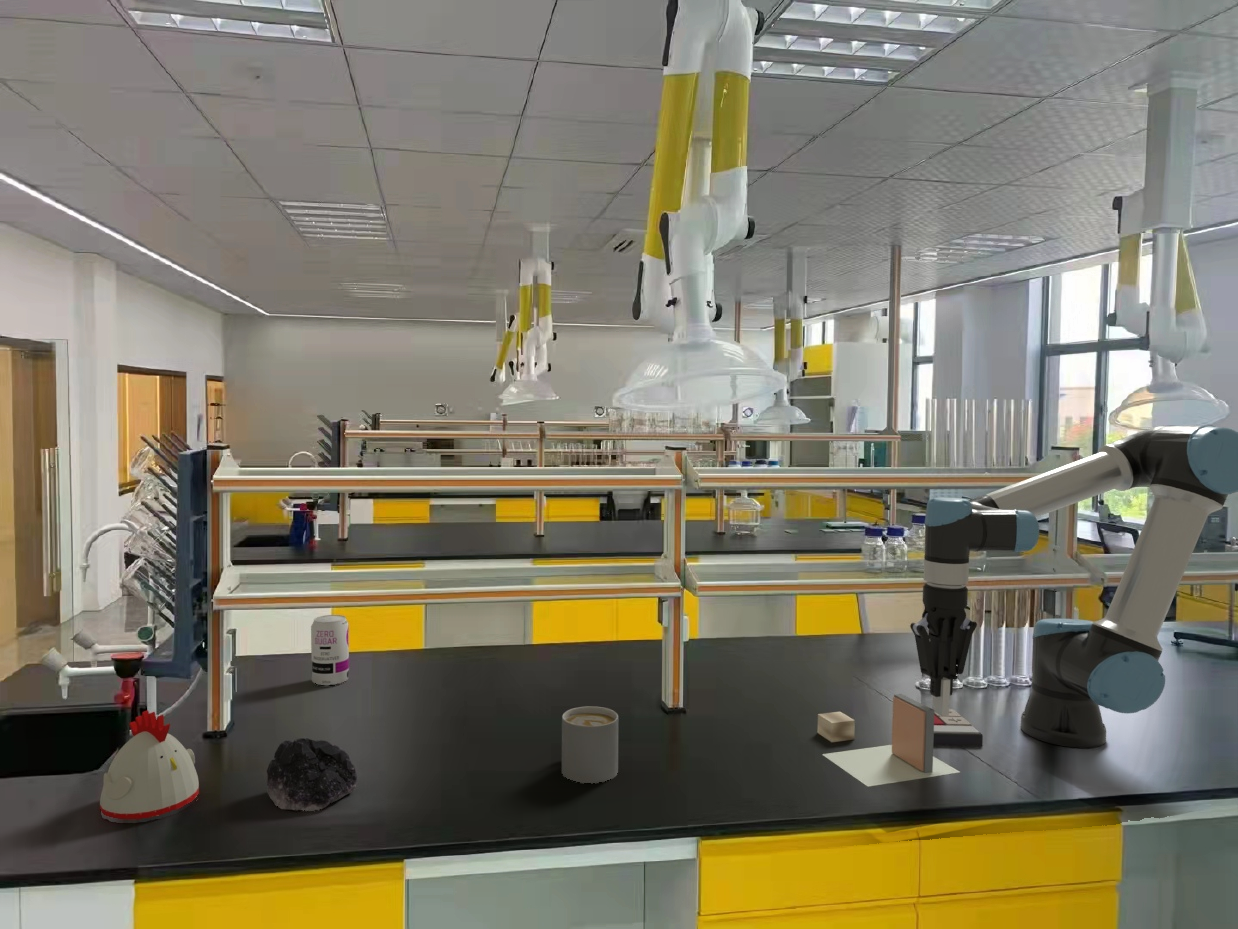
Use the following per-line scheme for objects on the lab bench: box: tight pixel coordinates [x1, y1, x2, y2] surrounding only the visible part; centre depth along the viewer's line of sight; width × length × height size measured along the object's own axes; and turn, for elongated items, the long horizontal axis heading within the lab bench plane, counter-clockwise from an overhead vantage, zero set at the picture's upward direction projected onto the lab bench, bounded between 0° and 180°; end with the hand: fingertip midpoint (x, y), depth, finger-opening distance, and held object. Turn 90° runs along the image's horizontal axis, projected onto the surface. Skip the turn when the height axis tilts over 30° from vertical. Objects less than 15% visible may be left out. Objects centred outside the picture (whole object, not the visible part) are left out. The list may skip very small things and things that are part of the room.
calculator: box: [933, 708, 984, 747], centre depth 166 cm, size 11×4×15 cm
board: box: [821, 744, 961, 787], centre depth 150 cm, size 19×14×1 cm
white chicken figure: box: [99, 709, 200, 819], centre depth 134 cm, size 14×14×15 cm
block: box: [817, 711, 856, 743], centre depth 163 cm, size 5×5×5 cm
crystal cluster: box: [266, 737, 358, 812], centre depth 138 cm, size 13×14×10 cm
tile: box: [891, 693, 934, 773], centre depth 150 cm, size 2×9×11 cm, turn 19°
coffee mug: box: [561, 705, 619, 785], centre depth 150 cm, size 13×10×10 cm
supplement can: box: [310, 614, 350, 685], centre depth 196 cm, size 8×8×15 cm
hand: (940, 713), depth 152 cm, fingers closed
